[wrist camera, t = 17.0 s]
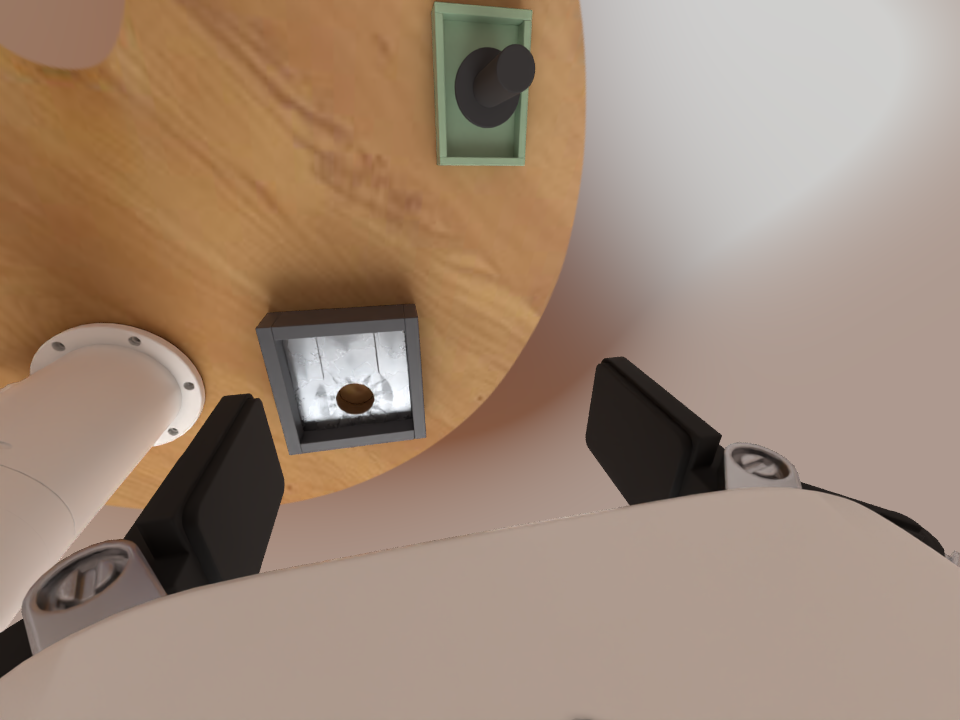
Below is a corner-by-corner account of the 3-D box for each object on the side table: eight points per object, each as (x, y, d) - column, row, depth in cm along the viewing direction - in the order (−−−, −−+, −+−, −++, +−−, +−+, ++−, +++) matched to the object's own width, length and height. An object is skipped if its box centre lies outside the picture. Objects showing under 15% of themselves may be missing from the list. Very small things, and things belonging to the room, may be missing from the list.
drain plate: (308, 425, 42) (304, 436, 40) (284, 323, 37) (279, 331, 35) (411, 413, 44) (413, 423, 42) (403, 315, 39) (404, 322, 37)
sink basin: (297, 431, 42) (289, 455, 38) (267, 312, 36) (255, 328, 32) (423, 416, 44) (426, 437, 41) (414, 303, 38) (418, 317, 35)
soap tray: (517, 165, 35) (524, 165, 33) (436, 165, 34) (440, 165, 32) (523, 19, 30) (532, 9, 29) (431, 11, 29) (434, 1, 27)
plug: (451, 129, 32) (475, 117, 24) (449, 53, 30) (474, 10, 21) (509, 130, 33) (552, 119, 25) (512, 57, 31) (559, 17, 22)
